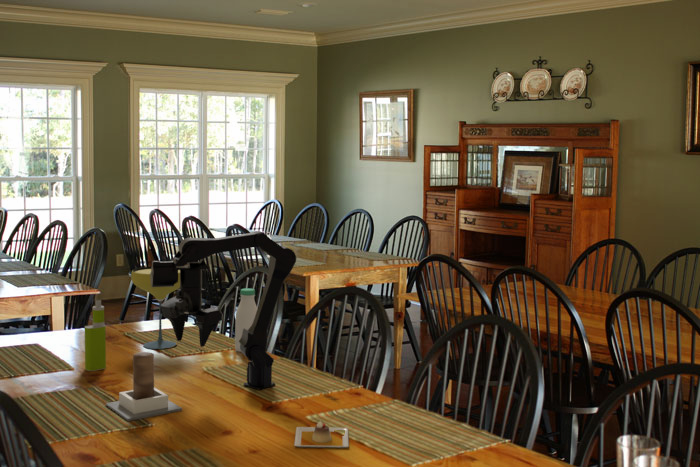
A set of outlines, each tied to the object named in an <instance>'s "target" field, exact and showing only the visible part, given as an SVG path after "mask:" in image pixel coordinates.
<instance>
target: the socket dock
mask: <svg viewBox="0 0 700 467" xmlns="http://www.w3.org/2000/svg"><path fill="white" fill-rule="evenodd" d="M105 406H106V407H107V406H108V407H107V408H108V409H110V410H111V409H112V411H113V412H114V411H115V412H114V413H115V414H117V415H118V414H119V415H118V416H120V417H121V418H123V419H124V420H125V421H127V422H131V421H135V420H136V421H137V420H141V419H146V418H150V417H157V416H161V415H165V414H171V413H176V412H180V411H181V412H182V411H183V407H181V406H180V405H177V404H176V403H175V402H172V401H171V400H169V395H168V394H166V393H164V392H163V391H161V390H159V389H157V387H154V397H150V398H145V399H139V400H135V399H133V389H130V390H126V391H120V392H118V400H117V401H112V402H106V403H105Z"/></svg>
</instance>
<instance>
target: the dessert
mask: <svg viewBox="0 0 700 467" xmlns="http://www.w3.org/2000/svg"><path fill="white" fill-rule="evenodd" d="M295 429H296V430H295V436H294V447H297V448H326V449H327V448H329V449H330V448H332V449H334V448H335V449H345V448H349V444H350V443H349V442H350V441H349V428H348V427H329V426H328V425H327V424H326V423H325V422H323V420H320V421H318V423H316V425H315V426H314V427H313V426H311V427H309V426H296V428H295ZM334 430H345V435H344V436H342V445H316V444H315V445H313V444H312V445H308V444H306V445H305V444H304V445H303V444H302V433H303V432H313V434H312V436H311V440H312V441H313V442H314V443H315V442H316V443H320V444H321V443H329V442H331V441H332V440H333V438H332V435H331V433H332V432H333V433H335V432H334Z"/></svg>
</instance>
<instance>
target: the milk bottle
mask: <svg viewBox="0 0 700 467" xmlns="http://www.w3.org/2000/svg"><path fill="white" fill-rule="evenodd" d="M255 294H256V289H255V288H241V289H240V302H239V303H238V304H239V305H238V307H237V309H236V311H235V312H236V313H235V322H234V323H235V326H234V328H235V329H234V330H235V332H234V333H235V334H234V346H235V347H234V348H235V352H239V353H242V351H241V349H240V343H239V340H240V339H241V337H242V333H243V329H244V328H245V329H247V330H248V329H249V328H250V327H251V326H252V324H253V321H254V318H255V315H256V312H257V309H258V306H257V303H256V301H255V296H256V295H255Z"/></svg>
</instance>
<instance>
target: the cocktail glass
mask: <svg viewBox="0 0 700 467" xmlns="http://www.w3.org/2000/svg"><path fill="white" fill-rule="evenodd" d="M151 268H152V266H143V267H137V268H135V269H132V271H131V275H130V278H131V282H132V284H133V285H134V286H136V287H137V288H138V289H140V290H142V291H145V292H147V293H149V294H151V295H152V296H153V297H154V298H155V299H156V301H158V302H159V303H158V304H159V306H158V307H159V308H158V309H159V312H158V317H159V318H158V319H159V321H158V322H159V323H158V324H159V325H158V326H159V327H158V337H157V340H153V341H149V342H145V343H144V344H143V348H145V349H148V350H156V349H161V350H165V349H164V348H170V347H173V346H175V345H176V342H175V341H173V340H172V341H170V340H164V339H163V333H162V330H163V329H162V314H161V313H160V306H161V304H162V301H164V300H165V298H166V297H167V296H169V295H170V294H171V293H173V292H176V290H178V289H180V270H178V283H176V284H174V286H173V287H151V279H150V272H151ZM170 349H171V348H170ZM156 351H157V350H156Z"/></svg>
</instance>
